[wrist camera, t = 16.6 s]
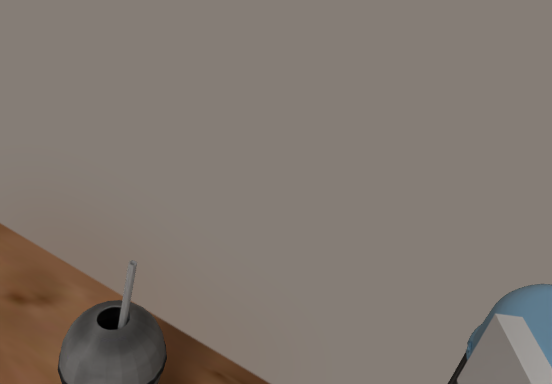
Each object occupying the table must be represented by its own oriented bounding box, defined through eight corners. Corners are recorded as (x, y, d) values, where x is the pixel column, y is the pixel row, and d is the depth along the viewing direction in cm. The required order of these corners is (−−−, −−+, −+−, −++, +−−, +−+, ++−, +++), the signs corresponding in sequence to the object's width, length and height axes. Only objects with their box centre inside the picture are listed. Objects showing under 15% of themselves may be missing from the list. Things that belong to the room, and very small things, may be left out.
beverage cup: (64, 420, 41) (43, 237, 30) (150, 397, 44) (158, 223, 34) (72, 508, 36) (51, 322, 25) (169, 474, 39) (187, 296, 28)
